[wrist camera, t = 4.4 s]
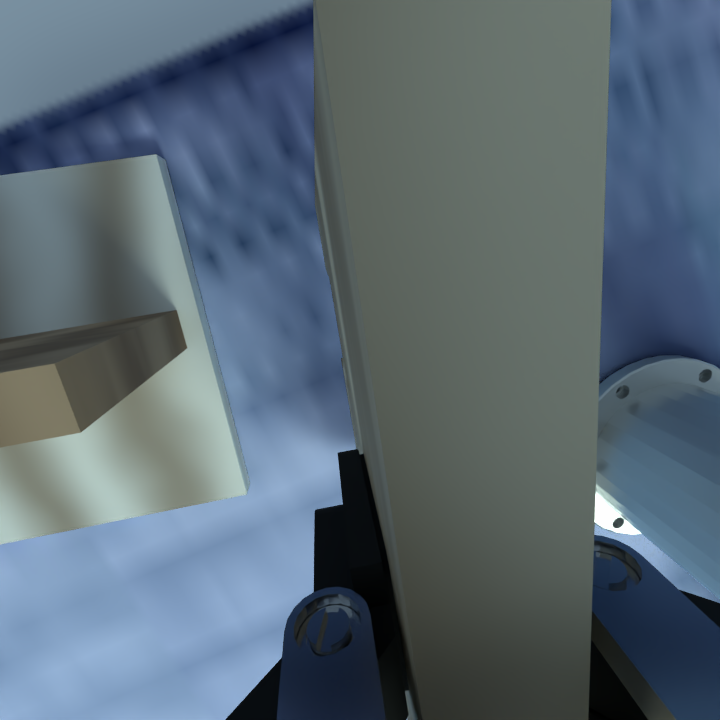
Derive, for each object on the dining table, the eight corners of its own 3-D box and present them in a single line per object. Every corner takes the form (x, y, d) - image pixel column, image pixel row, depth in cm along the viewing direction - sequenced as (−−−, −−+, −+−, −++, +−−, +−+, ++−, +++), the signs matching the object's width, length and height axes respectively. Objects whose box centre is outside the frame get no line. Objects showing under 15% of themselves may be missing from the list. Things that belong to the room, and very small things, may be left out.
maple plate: (359, 198, 18) (612, -50, 3) (401, 499, 23) (578, 1031, 7) (314, 205, 18) (312, -15, 3) (366, 506, 23) (473, 1061, 7)
